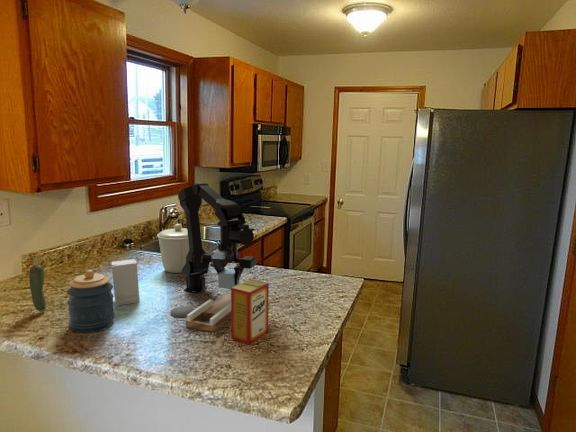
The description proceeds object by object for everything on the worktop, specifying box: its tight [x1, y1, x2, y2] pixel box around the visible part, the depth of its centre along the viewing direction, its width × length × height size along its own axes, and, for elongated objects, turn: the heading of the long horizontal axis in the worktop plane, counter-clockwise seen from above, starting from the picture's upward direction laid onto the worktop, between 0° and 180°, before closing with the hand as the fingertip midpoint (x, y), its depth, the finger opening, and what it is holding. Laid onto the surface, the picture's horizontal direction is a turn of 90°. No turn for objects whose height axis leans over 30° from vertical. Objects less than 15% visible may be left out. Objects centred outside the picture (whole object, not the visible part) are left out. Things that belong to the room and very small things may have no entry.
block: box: [217, 268, 240, 290], centre depth 145 cm, size 5×6×5 cm
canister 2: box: [156, 223, 189, 274], centre depth 185 cm, size 18×18×21 cm
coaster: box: [170, 306, 196, 319], centre depth 141 cm, size 8×8×1 cm
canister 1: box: [66, 269, 116, 333], centre depth 129 cm, size 13×13×18 cm
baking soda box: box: [230, 278, 270, 345], centre depth 124 cm, size 10×6×16 cm
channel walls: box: [186, 298, 231, 326], centre depth 135 cm, size 9×14×2 cm, turn 161°
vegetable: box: [28, 253, 47, 313], centre depth 137 cm, size 4×4×20 cm
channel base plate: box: [185, 293, 231, 333], centre depth 140 cm, size 10×25×2 cm, turn 161°
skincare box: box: [111, 258, 141, 307], centre depth 148 cm, size 8×6×15 cm
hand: (229, 283), depth 145 cm, fingers closed on block, 5 cm apart
